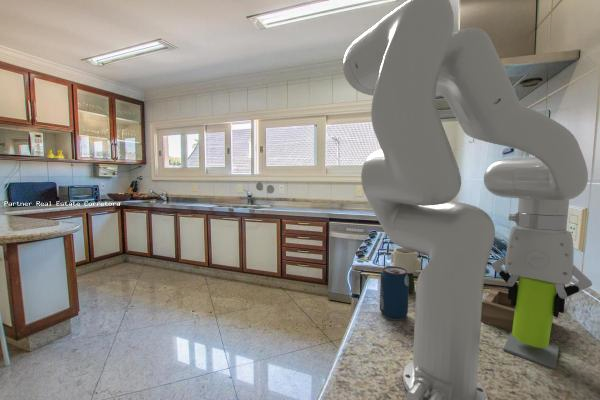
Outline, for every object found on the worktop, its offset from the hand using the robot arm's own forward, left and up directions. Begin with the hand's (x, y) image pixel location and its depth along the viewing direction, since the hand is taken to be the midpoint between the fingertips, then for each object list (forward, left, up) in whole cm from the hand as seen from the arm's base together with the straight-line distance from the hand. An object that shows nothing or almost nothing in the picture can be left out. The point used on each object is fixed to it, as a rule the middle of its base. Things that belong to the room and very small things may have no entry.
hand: (534, 308), depth 57 cm
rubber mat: (0, 0, -9) cm, 9 cm away
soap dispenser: (0, 0, -7) cm, 7 cm away
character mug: (+10, +32, -9) cm, 35 cm away
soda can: (-7, +27, -9) cm, 29 cm away
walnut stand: (+12, +4, -9) cm, 16 cm away
